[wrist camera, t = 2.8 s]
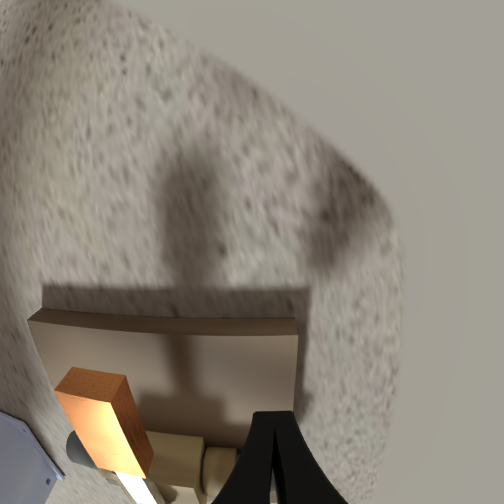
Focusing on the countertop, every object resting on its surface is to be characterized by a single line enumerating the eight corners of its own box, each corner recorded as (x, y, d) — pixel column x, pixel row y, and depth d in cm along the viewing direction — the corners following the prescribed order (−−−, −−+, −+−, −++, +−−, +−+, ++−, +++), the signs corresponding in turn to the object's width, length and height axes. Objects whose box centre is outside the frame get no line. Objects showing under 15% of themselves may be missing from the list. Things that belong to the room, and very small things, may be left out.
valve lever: (181, 509, 12) (177, 528, 10) (144, 503, 12) (139, 521, 11) (125, 374, 9) (110, 402, 7) (72, 366, 9) (53, 390, 7)
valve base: (281, 487, 18) (284, 540, 14) (114, 470, 19) (97, 514, 14) (295, 317, 14) (310, 392, 9) (41, 308, 14) (-12, 353, 9)
